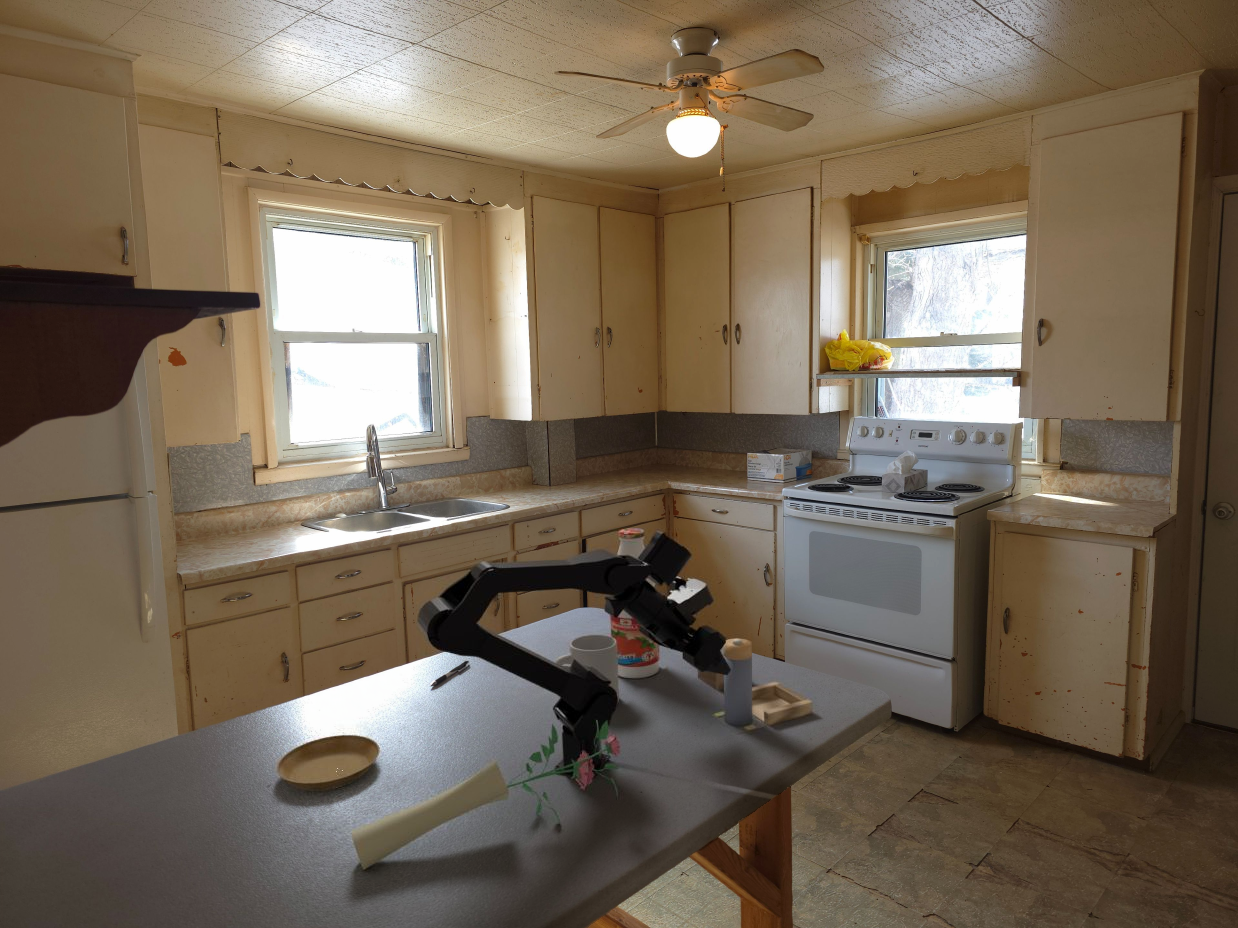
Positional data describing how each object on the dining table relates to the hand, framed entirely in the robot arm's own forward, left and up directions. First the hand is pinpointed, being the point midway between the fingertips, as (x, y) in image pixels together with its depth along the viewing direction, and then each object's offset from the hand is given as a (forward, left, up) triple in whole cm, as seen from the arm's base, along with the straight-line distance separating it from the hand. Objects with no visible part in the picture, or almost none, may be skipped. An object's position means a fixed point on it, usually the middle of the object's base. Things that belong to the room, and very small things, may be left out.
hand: (712, 662), depth 129 cm
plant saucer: (-34, +49, -12) cm, 61 cm away
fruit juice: (+19, +22, -12) cm, 32 cm away
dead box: (+19, +4, -11) cm, 22 cm away
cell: (+4, -3, -11) cm, 12 cm away
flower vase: (-38, +17, -12) cm, 43 cm away
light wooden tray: (+10, -7, -11) cm, 17 cm away
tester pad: (+4, -3, -11) cm, 12 cm away
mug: (+2, +24, -12) cm, 27 cm away
